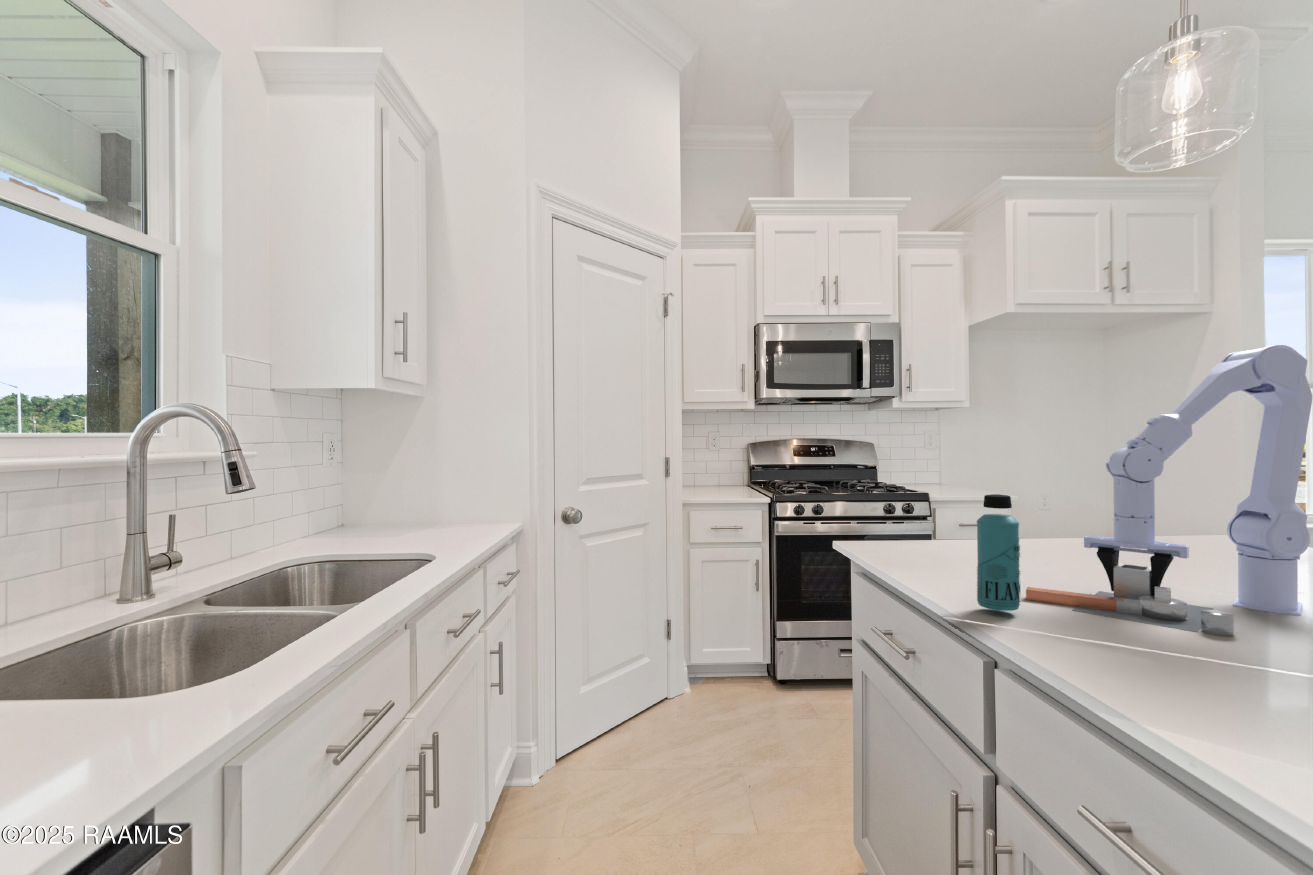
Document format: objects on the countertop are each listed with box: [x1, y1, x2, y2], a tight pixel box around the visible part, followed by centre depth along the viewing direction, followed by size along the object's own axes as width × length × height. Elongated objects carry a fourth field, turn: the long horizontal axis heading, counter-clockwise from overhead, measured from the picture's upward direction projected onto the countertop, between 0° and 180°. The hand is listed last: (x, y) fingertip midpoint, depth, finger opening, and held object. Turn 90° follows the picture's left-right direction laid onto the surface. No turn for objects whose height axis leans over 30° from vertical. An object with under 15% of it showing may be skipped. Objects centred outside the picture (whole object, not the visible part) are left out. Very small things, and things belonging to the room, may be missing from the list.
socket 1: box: [1113, 562, 1152, 600], centre depth 109 cm, size 5×5×6 cm
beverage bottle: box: [976, 493, 1022, 612], centre depth 103 cm, size 6×7×20 cm
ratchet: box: [1025, 586, 1188, 622], centre depth 105 cm, size 22×6×4 cm, turn 52°
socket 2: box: [1200, 609, 1235, 638], centre depth 92 cm, size 4×4×3 cm
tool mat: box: [1071, 590, 1214, 633], centre depth 104 cm, size 18×16×1 cm
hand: (1134, 593), depth 109 cm, fingers closed on socket 1, 5 cm apart
